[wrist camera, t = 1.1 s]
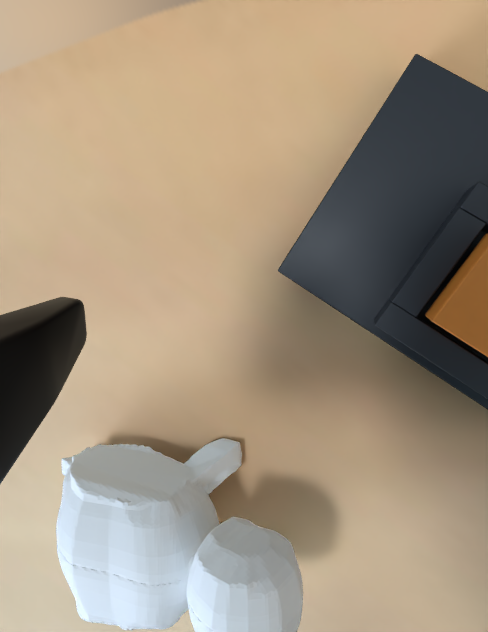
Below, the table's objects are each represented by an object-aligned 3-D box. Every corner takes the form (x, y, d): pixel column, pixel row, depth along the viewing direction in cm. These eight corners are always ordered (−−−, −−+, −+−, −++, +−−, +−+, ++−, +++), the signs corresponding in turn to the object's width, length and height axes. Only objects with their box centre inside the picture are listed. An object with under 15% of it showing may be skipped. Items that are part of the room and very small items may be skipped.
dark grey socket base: (697, 230, 19) (783, 222, 15) (524, 427, 21) (559, 463, 17) (410, 73, 21) (421, 30, 17) (284, 270, 23) (269, 271, 20)
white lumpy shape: (142, 527, 31) (341, 632, 22) (23, 600, 24) (240, 793, 15) (139, 409, 30) (346, 470, 21) (14, 451, 23) (240, 567, 14)
